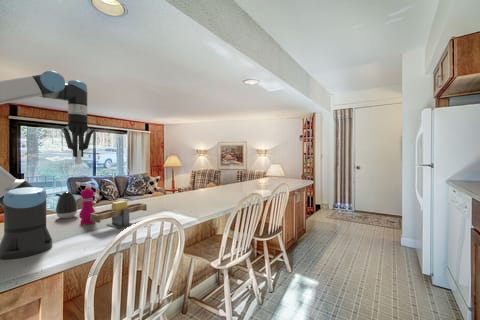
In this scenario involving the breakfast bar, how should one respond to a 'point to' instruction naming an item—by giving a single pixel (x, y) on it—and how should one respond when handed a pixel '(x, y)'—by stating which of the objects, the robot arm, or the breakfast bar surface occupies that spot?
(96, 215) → the beam
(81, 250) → the breakfast bar surface
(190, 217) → the breakfast bar surface
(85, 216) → the magenta figurine
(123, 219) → the fulcrum
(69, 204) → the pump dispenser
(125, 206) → the block
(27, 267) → the breakfast bar surface
